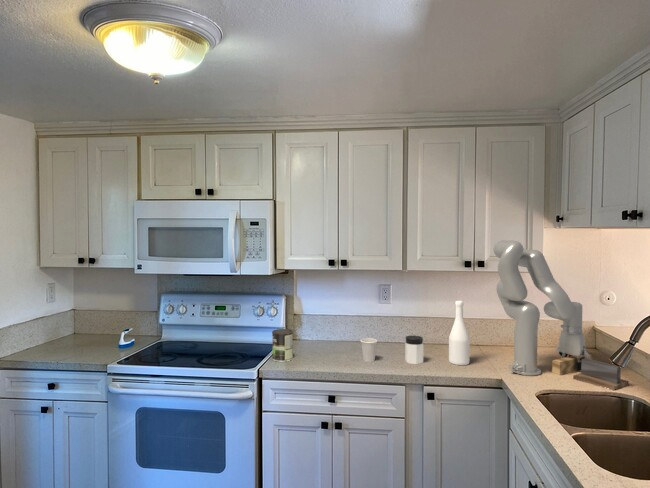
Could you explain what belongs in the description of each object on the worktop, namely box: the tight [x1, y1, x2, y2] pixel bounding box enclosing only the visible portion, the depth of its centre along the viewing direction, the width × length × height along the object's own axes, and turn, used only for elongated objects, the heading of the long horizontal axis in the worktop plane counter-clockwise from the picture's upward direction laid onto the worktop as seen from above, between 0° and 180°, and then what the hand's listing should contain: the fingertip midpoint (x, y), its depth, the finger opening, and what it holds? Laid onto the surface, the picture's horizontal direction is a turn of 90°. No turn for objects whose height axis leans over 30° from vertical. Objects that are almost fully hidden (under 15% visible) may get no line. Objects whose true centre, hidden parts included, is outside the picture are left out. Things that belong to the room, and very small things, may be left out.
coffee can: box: [271, 328, 294, 363], centre depth 218 cm, size 10×10×14 cm
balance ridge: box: [572, 358, 630, 391], centre depth 183 cm, size 12×16×8 cm
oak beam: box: [551, 353, 593, 376], centre depth 199 cm, size 24×4×6 cm, turn 119°
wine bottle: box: [448, 300, 471, 366], centre depth 210 cm, size 10×10×30 cm
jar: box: [404, 335, 424, 365], centre depth 212 cm, size 9×8×12 cm
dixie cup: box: [359, 337, 378, 363], centre depth 215 cm, size 8×8×10 cm
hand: (572, 368), depth 199 cm, fingers open, 5 cm apart
